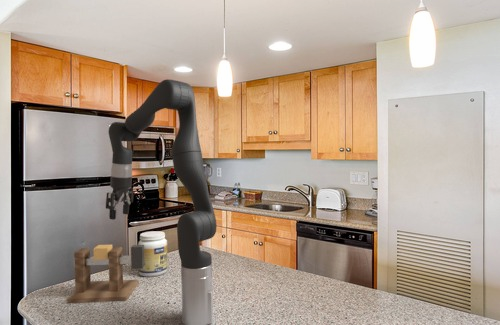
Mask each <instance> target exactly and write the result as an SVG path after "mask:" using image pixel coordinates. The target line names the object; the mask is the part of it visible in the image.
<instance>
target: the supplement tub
mask: <svg viewBox="0 0 500 325" xmlns="http://www.w3.org/2000/svg"><path fill="white" fill-rule="evenodd" d="M165 237H166V233H165V231H159V230H157V231H153V230H152V231H145V232H142V233H140V235H139V241H138V244H137V245H144V267H143V269H137V271H138V274H139V275H140V276H141V277H146V278H147V277H158V276H162V275H163V274H165V273H166V272H167V271H168V266H169V265H168V240H167V239H166V238H165Z"/></svg>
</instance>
